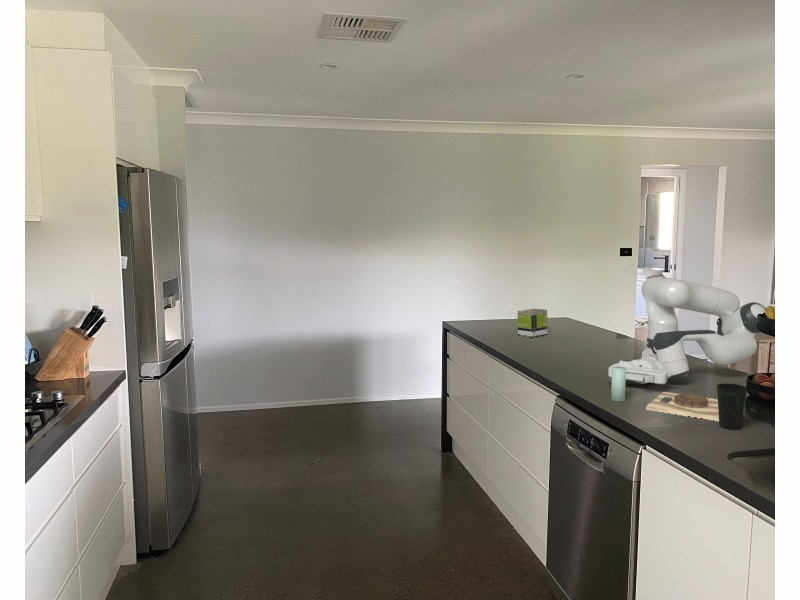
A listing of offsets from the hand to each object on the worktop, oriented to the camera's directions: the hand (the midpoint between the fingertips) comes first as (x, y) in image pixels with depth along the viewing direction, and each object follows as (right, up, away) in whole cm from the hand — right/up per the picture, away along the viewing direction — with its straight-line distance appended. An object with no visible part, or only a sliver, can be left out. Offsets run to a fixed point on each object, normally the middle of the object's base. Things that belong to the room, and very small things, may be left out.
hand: (630, 378), depth 211 cm
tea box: (-7, +7, +125) cm, 125 cm away
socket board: (+13, -7, -17) cm, 23 cm away
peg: (-7, -6, -7) cm, 12 cm away
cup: (+15, -9, -37) cm, 41 cm away
